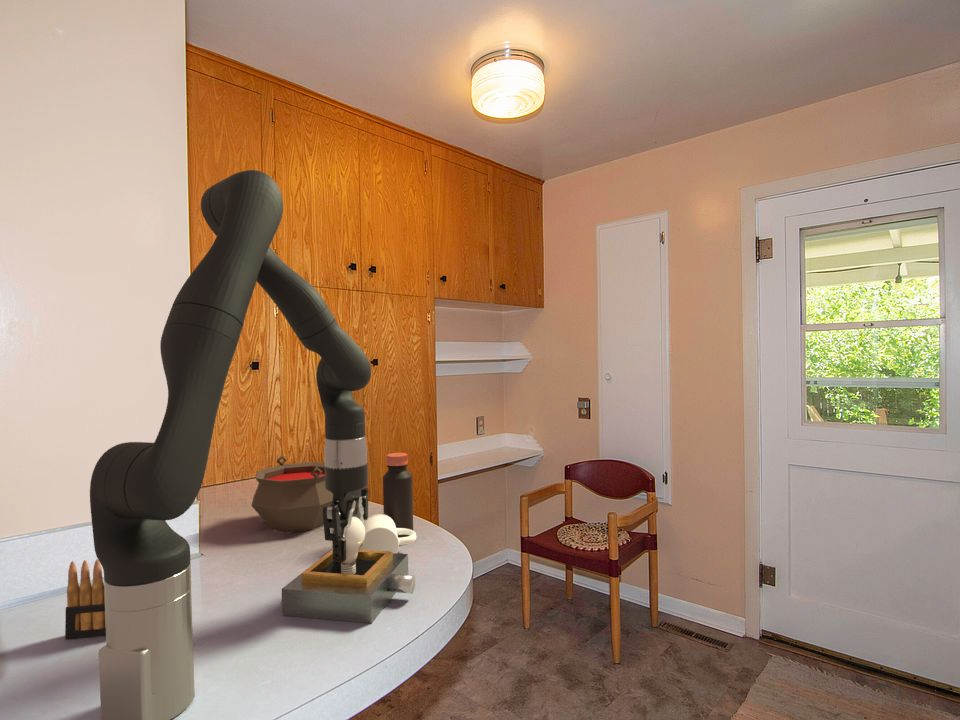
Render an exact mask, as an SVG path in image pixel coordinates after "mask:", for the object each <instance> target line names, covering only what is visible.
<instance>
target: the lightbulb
mask: <svg viewBox="0 0 960 720" xmlns="http://www.w3.org/2000/svg"><path fill="white" fill-rule="evenodd" d="M344 521H345V520H340V522H344ZM340 528H341V531H342V527H340ZM331 529H332V528H330V533H331ZM364 539H365V526H364V524H363V522H362V521H361V520H360V519H359V518H357V517H355V516H353V517H352V520H351V526H350V527H349V528H348V529H347V534H346V539H345V540H346V560H345V561H344V562H341V574H351V575H354V574H355V573H356V558H357V555H358V550H360V546H361V545H362V543H363V541H364ZM330 543H331V546H333V543H332V541H330Z"/></svg>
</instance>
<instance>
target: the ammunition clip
mask: <svg viewBox="0 0 960 720" xmlns="http://www.w3.org/2000/svg"><path fill="white" fill-rule="evenodd" d="M67 572H68V574H67V575H68V576H67V589H66V604H67V605H66V607H65V622H64V623H65V626H64V627H65V629H64V633H65V634H64V640H65V641H68V640H69V641H70V640H79V639H90V638H102V637H106V623H105V591H104V576H103V568H102V565H101V563H100V562H99V560H98V558H97V559H96V560H95V562H94V564H93V569H92V580H91V574H90V566H89V564H88V562H87V560H83V562H82V564H81V568H80V581H79V578H78V569H77V565H76V564H75V561H73V560H72V561H70V564H69V567H68V570H67ZM79 582H80V583H79Z"/></svg>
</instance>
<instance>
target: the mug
mask: <svg viewBox="0 0 960 720" xmlns="http://www.w3.org/2000/svg"><path fill="white" fill-rule="evenodd" d="M364 526H365V539H364V541H363V545H362V546H361V547H360V548H359V550H374V551H390V552H393V553H398V551H399V549H400V546H403V545H404V546H405V545H408V544H412V543H413V542H415V541H416V539H417V533H416V531H414V529H413V530H410V529H405V528H396V526H395V523H394V521H393V520H392V519H391V518H390V517H389V516H388V515H386V514H384V513H381V512H379V513H373V514H370V515H368V519H367V520H364ZM398 535H410V536H408V537H402V538H398Z"/></svg>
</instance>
